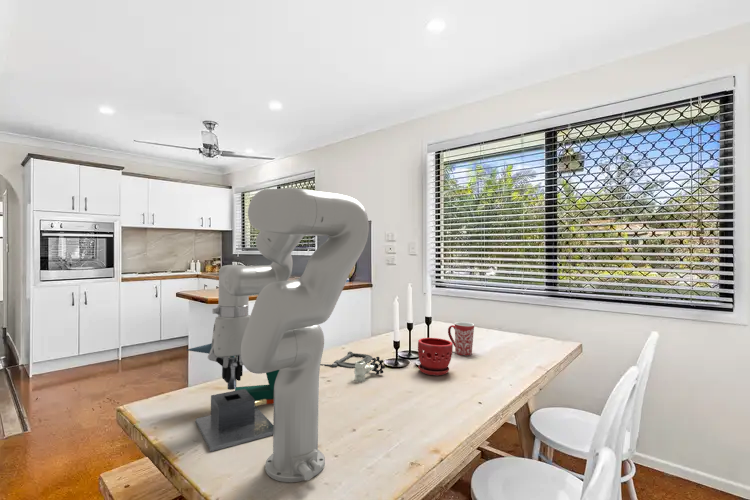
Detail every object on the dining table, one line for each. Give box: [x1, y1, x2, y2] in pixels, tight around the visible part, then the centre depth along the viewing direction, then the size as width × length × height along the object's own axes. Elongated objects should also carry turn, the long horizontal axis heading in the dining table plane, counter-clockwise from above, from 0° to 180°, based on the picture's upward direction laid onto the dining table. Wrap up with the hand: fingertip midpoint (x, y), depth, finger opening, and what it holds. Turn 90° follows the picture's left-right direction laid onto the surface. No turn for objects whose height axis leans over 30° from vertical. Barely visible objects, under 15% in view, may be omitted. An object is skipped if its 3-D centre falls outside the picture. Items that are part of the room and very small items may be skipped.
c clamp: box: [320, 351, 374, 369], centre depth 162 cm, size 20×17×3 cm
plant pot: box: [417, 337, 454, 376], centre depth 150 cm, size 13×13×12 cm
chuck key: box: [227, 357, 237, 391], centre depth 104 cm, size 6×2×8 cm, turn 35°
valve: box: [353, 356, 386, 383], centre depth 142 cm, size 7×7×12 cm
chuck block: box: [195, 389, 273, 453], centre depth 102 cm, size 18×17×7 cm
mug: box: [447, 321, 475, 356], centre depth 178 cm, size 13×9×14 cm
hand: (232, 379), depth 104 cm, fingers closed on chuck key, 2 cm apart
